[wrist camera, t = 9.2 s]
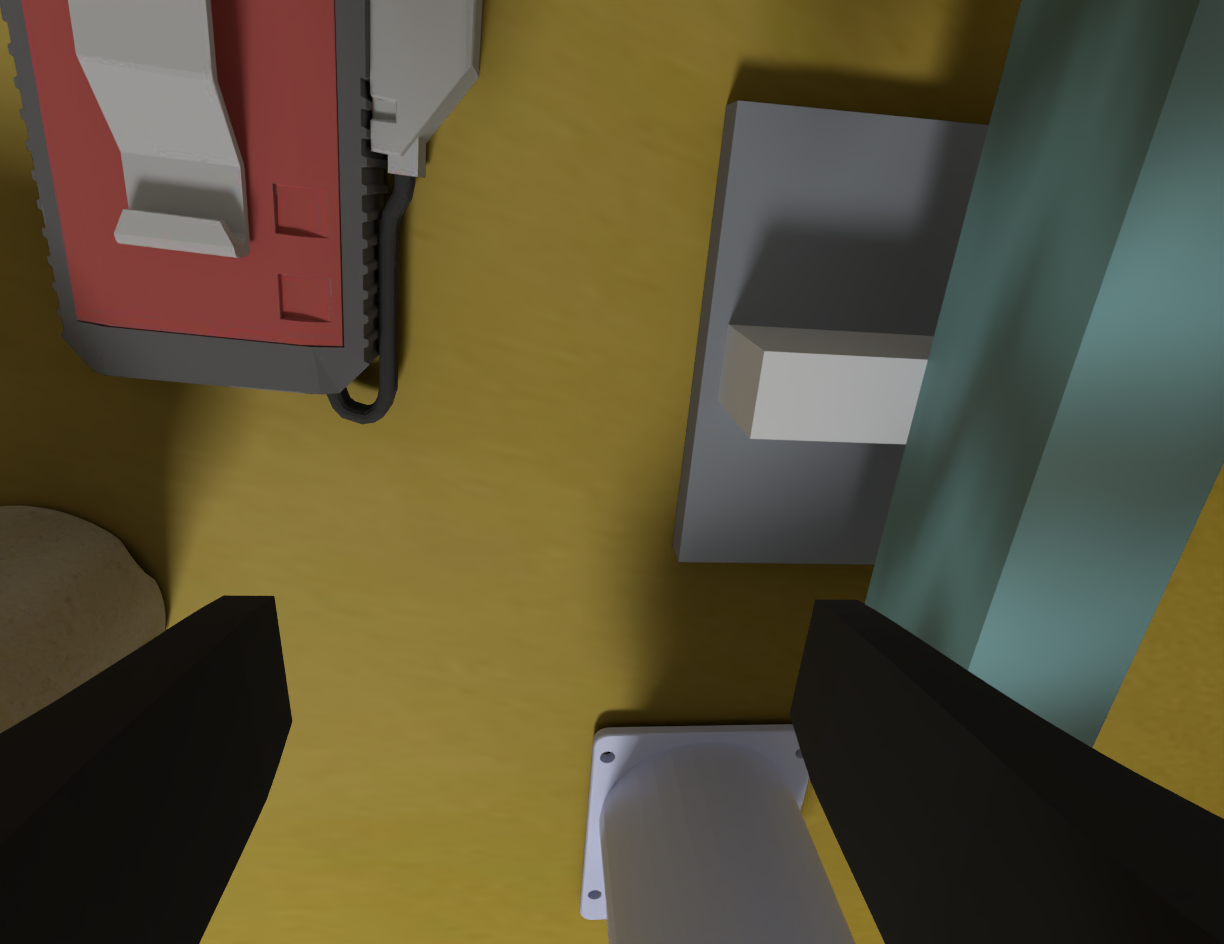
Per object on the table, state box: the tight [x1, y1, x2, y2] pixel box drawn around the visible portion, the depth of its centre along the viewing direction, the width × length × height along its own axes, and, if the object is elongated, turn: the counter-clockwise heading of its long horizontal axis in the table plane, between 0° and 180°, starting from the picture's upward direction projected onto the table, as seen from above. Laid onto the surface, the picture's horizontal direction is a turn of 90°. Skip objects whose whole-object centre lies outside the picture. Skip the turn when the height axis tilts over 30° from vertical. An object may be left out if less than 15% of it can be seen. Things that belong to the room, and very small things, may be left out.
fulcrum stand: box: [672, 101, 989, 565], centre depth 17 cm, size 12×12×4 cm
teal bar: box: [865, 0, 1224, 747], centre depth 14 cm, size 16×4×4 cm, turn 176°
